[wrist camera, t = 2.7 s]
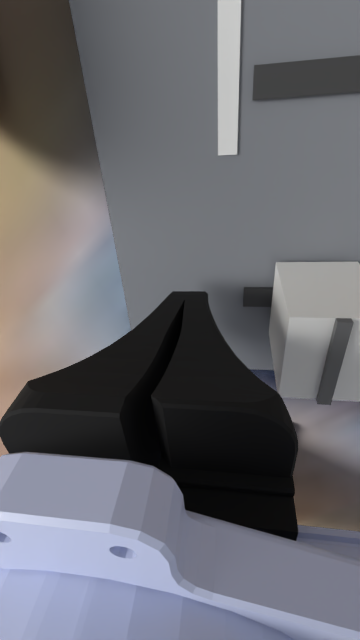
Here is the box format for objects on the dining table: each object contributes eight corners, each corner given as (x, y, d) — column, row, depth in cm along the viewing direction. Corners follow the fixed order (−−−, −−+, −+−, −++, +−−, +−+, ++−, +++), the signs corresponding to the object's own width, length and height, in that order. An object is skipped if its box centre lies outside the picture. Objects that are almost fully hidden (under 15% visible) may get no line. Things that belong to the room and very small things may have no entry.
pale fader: (339, 334, 13) (371, 407, 10) (268, 332, 14) (278, 401, 11) (358, 261, 12) (403, 323, 8) (276, 261, 12) (290, 321, 9)
